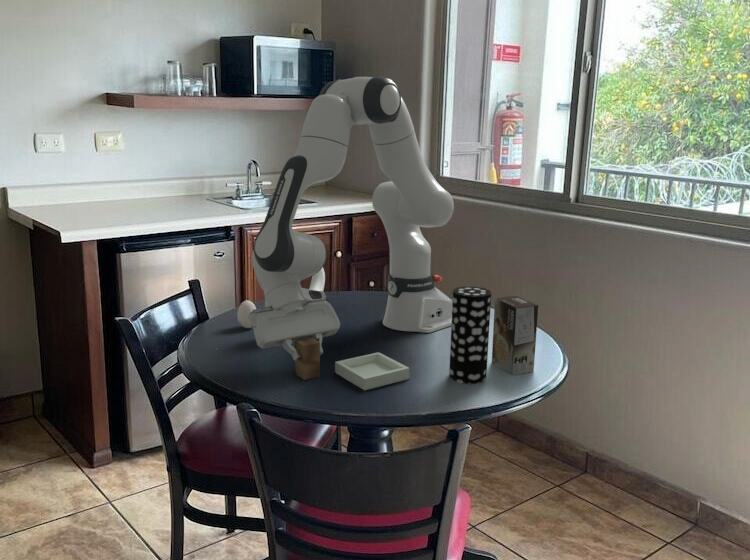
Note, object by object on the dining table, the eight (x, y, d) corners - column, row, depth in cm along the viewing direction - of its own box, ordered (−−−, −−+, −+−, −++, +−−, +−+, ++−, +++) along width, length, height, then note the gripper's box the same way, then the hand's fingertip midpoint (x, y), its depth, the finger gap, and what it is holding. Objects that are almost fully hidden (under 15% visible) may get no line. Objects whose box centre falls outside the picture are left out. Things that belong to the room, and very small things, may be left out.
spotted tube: (476, 386, 157) (481, 298, 152) (442, 378, 161) (446, 292, 156) (492, 375, 163) (497, 290, 158) (458, 367, 168) (462, 284, 163)
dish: (378, 362, 170) (378, 352, 169) (409, 378, 160) (409, 368, 160) (335, 372, 163) (335, 361, 162) (364, 390, 154) (364, 379, 153)
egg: (239, 324, 196) (238, 297, 194) (259, 324, 196) (258, 297, 194) (236, 331, 191) (235, 303, 189) (256, 331, 191) (256, 303, 189)
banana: (291, 313, 207) (291, 264, 203) (313, 296, 225) (312, 250, 221) (307, 315, 206) (307, 265, 202) (328, 297, 223) (328, 251, 220)
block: (311, 370, 164) (310, 337, 162) (319, 376, 161) (319, 342, 159) (295, 374, 162) (295, 340, 160) (304, 379, 159) (304, 345, 157)
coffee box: (535, 371, 166) (540, 305, 162) (512, 375, 163) (516, 308, 159) (512, 358, 174) (516, 295, 170) (489, 362, 171) (493, 297, 167)
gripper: (250, 303, 157) (271, 359, 152) (330, 290, 168) (352, 342, 163) (242, 317, 162) (262, 372, 156) (320, 304, 173) (342, 354, 168)
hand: (309, 356), depth 160 cm, fingers closed on block, 4 cm apart
